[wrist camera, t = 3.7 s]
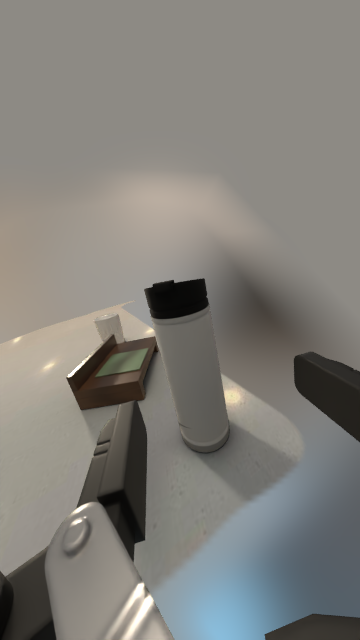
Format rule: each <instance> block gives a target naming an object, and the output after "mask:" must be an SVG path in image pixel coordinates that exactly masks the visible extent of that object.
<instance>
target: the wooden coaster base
mask: <svg viewBox="0 0 360 640" xmlns="http://www.w3.org/2000/svg"><path fill="white" fill-rule="evenodd" d="M158 350H159V349H158V345H157V342H156V338H155V337H150V338H144V339H139V340H134V341H129V342H123V343H118V344H117V342H116V339H115V336H114V334H111V335H110V336H109V337H108V338H107V339H106V340H105V341H104V342H102V343H101V344H100V345H99V346H98V347H97V348H96V349H95V350H94V351H93V352H92V353H91V354H90V355H89V356H88V357H87V358H86V359H85V360H84V361H83V362H82V363H81V364H80V365H79V366H78V367H77V368H76V369H75V370H74V371H73V372H72V373H71V374H70V375H69V376H68V377H66V378H67V380H68V383H69V385H70V387H71V389H72V391H73V394H74V396H75V398H76V400H77V403H78V405H79V407H80V409H81V410H84V409H90V408H96V407H102V406H108V405H114V404H120V403H126V402H130V401H134V400H136V401H139V400H144V398H145V395H146V393H145V389H144V386H143V383H142V382H143V380H144V377H145V374H146V371H147V368H148V365H149V362H150V359H151V356H152V353H154V352H158Z"/></svg>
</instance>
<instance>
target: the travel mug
mask: <svg viewBox="0 0 360 640" xmlns="http://www.w3.org/2000/svg"><path fill="white" fill-rule="evenodd" d="M144 291H145V295H146V298H147V302H148V306H149V308H150V313H151V319H152V321H153V327H154V331H155V335H156V338H157V342H158V346H159V350H160V353H161V357H162V361H163V365H164V369H165V372H166V376H167V380H168V384H169V387H170V391H171V395H172V399H173V403H174V406H175V410H176V414H177V418H178V421H179V425H180V429H181V433H182V437H183V440H184V442H185V443H186V444H187V445H188V446H189V447H190V448H191V449H193V450H195V451H198V452H212V451H215V450H217V449H219V448H220V447H221V446H222V445H223V444H224V443H225V442H226V441H227V439H228V436H229V431H230V429H229V422H228V416H227V410H226V404H225V397H224V391H223V385H222V379H221V373H220V367H219V361H218V355H217V349H216V342H215V336H214V330H213V324H212V318H211V312H210V306H209V303H208V298H207V297H206V296H207V291H206V285H205V279H197V280H190V281H184V282H178V283H174V280H170V281H165V282H160V283H155V284H153V287H151V288H146V289H145V290H144Z"/></svg>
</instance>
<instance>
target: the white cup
mask: <svg viewBox="0 0 360 640" xmlns="http://www.w3.org/2000/svg"><path fill="white" fill-rule="evenodd" d="M94 323H95V325H96V328H97V330H98V332H99V335H100V337H101V339H102V340H103V342H104V341H105V340H106V339H107V338H108V337H109V336H110V335H111V334H114V336H115V339H116V342H117V344H118V343H123V342H124V341H125V339H124V336H123V331H122V326H121V323H120V319H119V315H118V313H112V314H107V315H104V316H101V317H98V318H96V319H94Z"/></svg>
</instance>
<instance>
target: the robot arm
mask: <svg viewBox="0 0 360 640" xmlns="http://www.w3.org/2000/svg"><path fill="white" fill-rule="evenodd" d="M294 379H295V380H294V381H295V386H296V388H297V390H298V391H299V393H301V395H302V396H304V397H305V398H306V399H308V400H309V401H310V402H311V403H312V404H313V405H315V406H316V407H317V408H318V409H320V410H321V411H322V412H323V413H325V414H326V415H327V416H328V417H329V418H331V419H332V420H333V421H335V422H336V423H337V424H338V425H339V426H341V427H342V428H343V429H344V430H346V431H347V432H348V433H349V434H350V435H352V436H353V437H354V438H355V439H356V440H358V441H359V442H360V372H359V371H357V370H354V369H353V368H351V367H349V366H347V365H345V364H343V363H340V362H337V361H333V360H329V359H326V358H324V357H322V356H320V355H318V354H316V353H314V352H308V353H304V354H301V355H297V356H295V358H294ZM146 473H147V432H146V427H145V424H144V421H143V418H142V414H141V411H140V408H139V405H138V403H137V401H136V400H134V401H130V402H127V403H123V404H120V405H119V406H118V410H117V414H116V418H114V419H110V420H108V422H107V423H106V425H105V426H104V427H103V429H102V430H101V432H100V435H99V439H98V442H97V446H96V448H95V451H94V457H93V458H92V461H91V464H90V467H89V470H88V474H87V477H86V480H85V483H84V486H83V489H82V493H81V496H80V499H79V502H78V505H77V508H76V510H74V511H73V512H72V513H71V514H70V515H69V516H68V517H67V518H66V519H65V520H64V522H63V523H62V524H61V525H60V527H59V528H58V530H57V531H56V533H55V535H54V537H53V538H52V541H51V543H50V545H49V546H47V547H46V548H45V549H44V550H42V551H41V552H40V553H38V554H37V555H35V556H34V557H33V558H31V559H30V560H28V561H27V562H26V563H24V564H23V565H21V566H20V567H19V568H17V569H16V570H14V571H13V572H12V573H10V574H9V575H7V576H6V577H5V576H4V575H3V574H2V573H1V571H0V640H174V638H173V636H172V634H171V632H170V630H169V629H168V627H167V625H166V623H165V621H164V619H163V617H162V615H161V613H160V611H159V609H158V608H157V606H156V604H155V602H154V600H153V598H152V596H151V594H150V593H149V591H148V589H147V588H146V586H145V584H144V582H143V581H142V579H141V577H140V575H139V573H138V571H137V569H136V567H135V565H134V563H133V561H134V545H135V543H138V542H141V541H144V540H145V518H146ZM265 639H266V640H360V618H356V617H345V616H333V615H321V614H312V615H309V616H307V617H304V618H302V619H300V620H297V621H295V622H293V623H290V624H288V625H286V626H283V627H281V628H279V629H276V630H274V631H272V632H269V633H267V634H265Z"/></svg>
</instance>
